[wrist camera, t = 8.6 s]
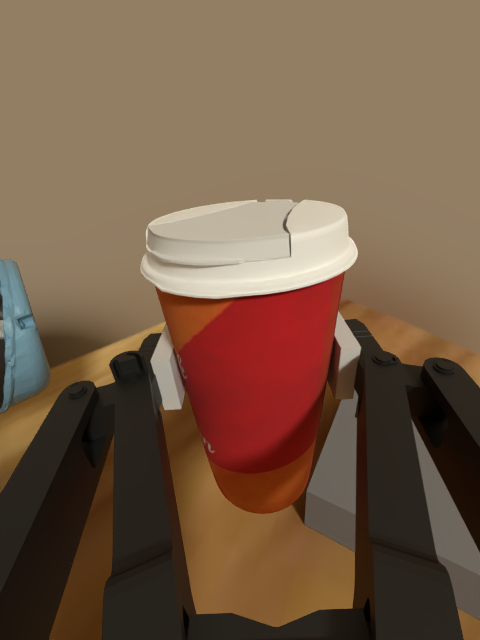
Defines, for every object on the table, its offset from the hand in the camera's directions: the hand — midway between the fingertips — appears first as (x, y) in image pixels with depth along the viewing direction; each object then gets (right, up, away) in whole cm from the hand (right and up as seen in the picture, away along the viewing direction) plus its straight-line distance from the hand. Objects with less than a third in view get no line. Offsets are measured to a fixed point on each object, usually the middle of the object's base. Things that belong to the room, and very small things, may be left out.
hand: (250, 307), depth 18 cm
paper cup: (+1, -9, 0) cm, 9 cm away
